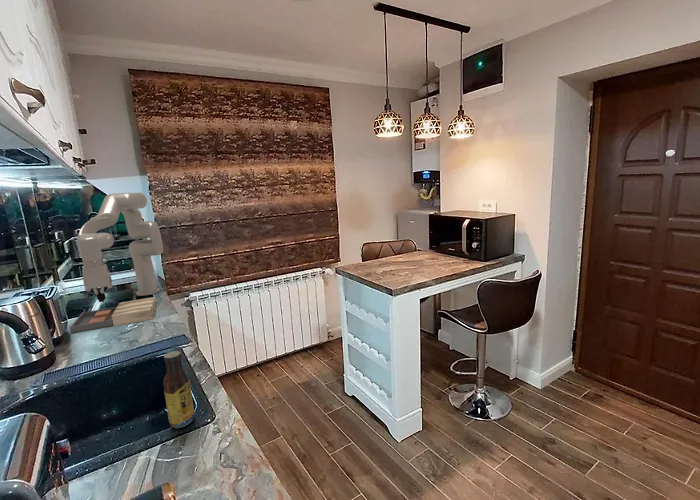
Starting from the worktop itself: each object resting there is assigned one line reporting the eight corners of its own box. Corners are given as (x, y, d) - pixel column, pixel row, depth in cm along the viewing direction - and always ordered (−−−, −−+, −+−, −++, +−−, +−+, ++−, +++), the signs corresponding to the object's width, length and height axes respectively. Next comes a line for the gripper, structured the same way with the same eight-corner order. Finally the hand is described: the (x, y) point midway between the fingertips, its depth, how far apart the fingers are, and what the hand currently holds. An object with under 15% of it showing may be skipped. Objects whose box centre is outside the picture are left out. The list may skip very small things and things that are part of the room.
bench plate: (121, 311, 185) (119, 302, 184) (156, 306, 191) (154, 297, 190) (113, 326, 167) (111, 315, 166) (152, 319, 173) (150, 309, 172)
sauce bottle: (189, 430, 94) (177, 360, 90) (165, 431, 94) (152, 361, 90) (199, 414, 100) (189, 348, 96) (177, 415, 101) (166, 349, 97)
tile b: (106, 316, 172) (107, 321, 172) (91, 318, 169) (92, 323, 170) (103, 320, 166) (104, 325, 167) (88, 323, 164) (89, 328, 165)
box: (83, 318, 179) (82, 312, 179) (120, 312, 185) (119, 306, 184) (71, 333, 161) (69, 327, 160) (112, 326, 167) (111, 320, 166)
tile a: (111, 309, 181) (112, 314, 181) (96, 311, 178) (97, 316, 179) (108, 313, 175) (109, 318, 176) (94, 315, 173) (95, 320, 174)
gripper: (114, 259, 170) (122, 295, 175) (76, 263, 165) (85, 301, 169) (111, 262, 164) (119, 300, 168) (71, 268, 158) (80, 307, 162)
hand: (102, 301), depth 169 cm, fingers closed
